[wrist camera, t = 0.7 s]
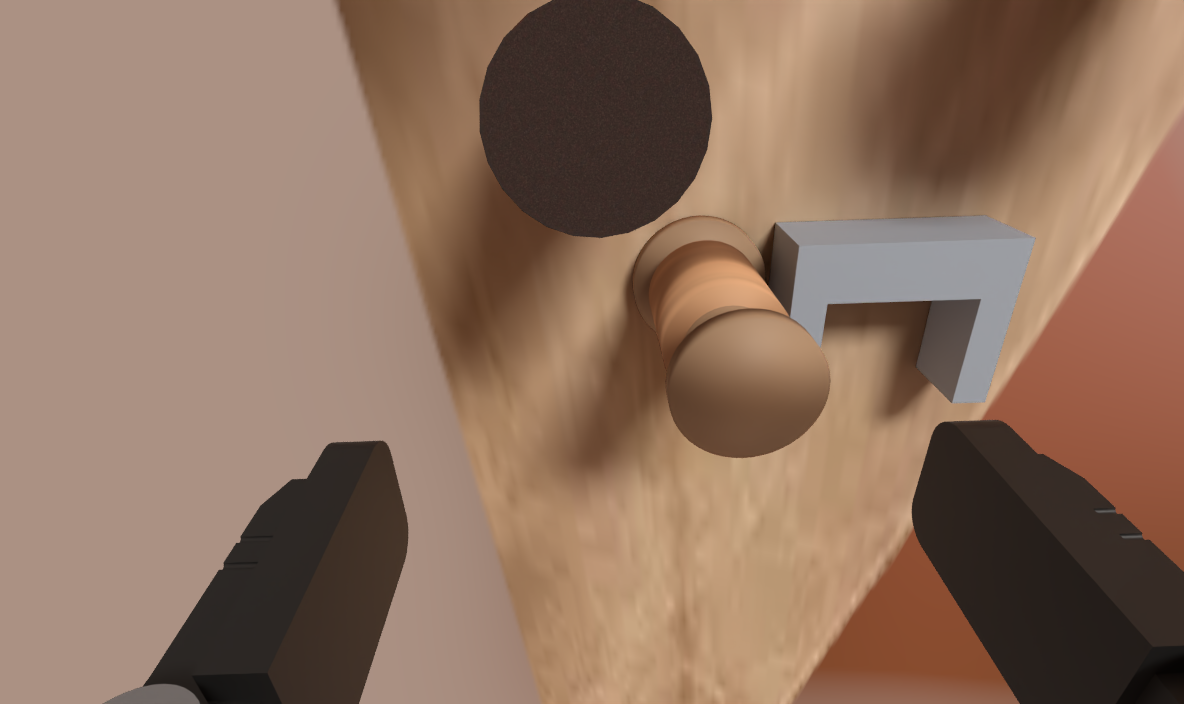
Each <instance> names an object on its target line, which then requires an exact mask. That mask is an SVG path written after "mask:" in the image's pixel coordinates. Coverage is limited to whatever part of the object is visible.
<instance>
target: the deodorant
mask: <svg viewBox="0 0 1184 704" xmlns="http://www.w3.org/2000/svg"><path fill="white" fill-rule="evenodd" d="M711 122H712V111H711V101H710V90H709V84H708V81H707V78H706V76H705V73H704V70H703V67H702V65H701V62H700V59H699V56H698V54H697V53H696V51H695V50H694V48H693V47H692V46H691V44H690V43H689V41H688V40H687V39H686V37H685V36H684V34H683V33H682V32H681V30H680V29H679V27H677V26H676V25H675V24H674V23H672V22H671V21H670V20H669V19H668V18H666V17H665V16H664V15H663V14H661V13H660V12H659V11H658V10H656V9H655V8H654V7H653V6H650V5H648V4H645V3H643V2H641V1H638V0H552V1H550V2H548V3H546V4H545V5H543V6H541V7H539V8H537V9H536V10H534V11H532V12H530V13H528V14H527V15H526V16H525V17H524V18H523V19H522V20H521V21H520V22H519V23H518V24H517V25H516V26H515V27H514V28H513V29H512V30H511V31H510V32H509V33H508V34H507V35H506V36H505V37H504V38H503V40H502V42H501V44H500V46H499V47H498V49H497V51H496V53H495V55H494V56H493V58H492V60H491V62H490V64H489V65H488V68H487V72H486V76H485V80H484V84H483V88H482V92H481V96H480V134H481V138H482V142H483V146H484V150H485V153H486V157H487V161H488V164H489V165H490V167H491V169H492V171H493V173H494V175H495V177H496V178H497V180H498V182H499V184H500V186H501V187H502V189H503V190H504V191H505V192H506V194H507V195H508V196H509V197H510V198H511V199H512V200H513V201H514V202H515V203H516V204H517V206H518V207H519V208H520V209H521V210H522V211H523V212H525V213H526V214H528V215H529V216H531V217H532V218H534V219H535V220H537V221H539V222H540V223H542V224H543V225H545V226H546V227H549V228H552V229H555V230H558V231H561V232H564V233H567V234H570V235H572V236H583V237H598V238H603V237H608V236H613V235H619V234H624V233H629V232H631V231H633V230H635V229H638V228H640V227H642V226H644V225H646V224H648V223H650V222H652V221H655V220H656V219H657V218H658V217H660V216H661V215H662V214H663V213H664V212H666V211H667V210H668V209H669V208H671V207H672V206H673V205H674V204H676V203H677V202H678V200H679V199H680V198H681V196H682V195H683V194H684V192H685V191H686V190H687V188H688V187H689V186H690V184H691V183H692V182H693V180H694V179H695V177H696V175H697V173H698V170H699V168H700V165H701V163H702V161H703V158H704V156H705V154H706V151H707V147H708V141H709V135H710V128H711Z"/></svg>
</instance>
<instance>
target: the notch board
mask: <svg viewBox="0 0 1184 704" xmlns="http://www.w3.org/2000/svg"><path fill="white" fill-rule="evenodd" d="M1035 239H1036V238H1035V237H1032V236H1030V235H1028V234H1026V233H1024V232H1021V231H1019V230H1017V229H1015V228H1012V227H1010V226H1008V225H1006V224H1004V223H1001V222H999V221H997V220H995V219H992V218H990V217H988V216H986V215H984V216H955V217H925V218H896V219H866V220H836V221H807V222H777V223H775V232H774V241H773V251H772V260H771V269H770V278H769V288H770V290H771V291H772V292H773V294H774V295H775V297H776V298H777V299H778V301H779V302H780V303H781V305H782V306H783V307H784V309H785V310H786V312H787V313H788V315H789V317H790V318H792V319H794V320H795V321H797V322H798V323H799V324H800V325H802V326H803V327H804V328H805V329H806V330H807V331H808V333H809V334H810V335H811V336H812V338H813V339H814V340H815V342H816V343H817V344H818V345H819V347H820V348H821V343H822V336H823V330H824V324H825V317H826V311H827V304H845V303H875V302H905V301H932V302H931V307H930V311H929V315H928V319H927V323H926V327H925V331H924V336H923V340H922V344H921V348H920V352H919V356H918V360H917V365H916V368H917V369H918V370H919V371H920V372H921V373H922V374H923V375H924V376H925V377H926V378H927V379H928V380H929V381H930V382H931V383H932V384H933V385H934V386H935V387H936V388H937V389H938V390H939V391H940V392H941V393H942V394H943V395H944V396H945V397H946V398H947V399H948V400H949V401H950V402H951V403H976V402H985V400H986V397H987V394H988V390H989V387H990V384H991V381H992V377H993V374H994V371H995V368H996V364H997V361H998V358H999V355H1000V352H1001V348H1002V345H1003V342H1004V339H1005V335H1006V332H1007V329H1008V326H1009V322H1010V319H1011V316H1012V313H1013V310H1014V306H1015V303H1016V300H1017V297H1018V293H1019V290H1020V287H1021V284H1022V280H1023V277H1024V274H1025V271H1026V268H1027V264H1028V261H1029V258H1030V255H1031V251H1032V248H1033V245H1034V242H1035Z"/></svg>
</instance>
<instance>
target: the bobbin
mask: <svg viewBox="0 0 1184 704" xmlns="http://www.w3.org/2000/svg"><path fill="white" fill-rule="evenodd" d="M765 279H766V274H765V266H764V262H763V259H762V257H761V254H760V252H759V250H758V249H757V247H756V245H755V244H754V243H753V242H752V240H751V239H750V238H749V237H748V236H747V234H746V233H745V232H744V231H742V230H741V229H740V228H739V227H737V226H736V225H734V224H733V223H731V222H729V221H726V220H724V219H721V218H717V217H712V216H692V217H687V218H682V219H680V220H677V221H674V222H672V223H670V224H668V225H666V226H665V227H663V228H662V229H660V230H659V231H658V232H656V233H655V234H654V235H653V236H652V237H651V238H650V239H649V240H648V241H647V243H646V244H645V245H644V247H643V248H642V250H641V252H640V254H639V256H638V257H637V260H636V263H635V266H634V271H633V291H634V296H635V301H636V305H637V307H638V310H639V312H640V314H641V316H642V318H643V319H644V320H645V322H646V323H647V324H648V325H649V326H650V327H651V328H652V329H653V330H654V331H655V332H657V336H658V340H659V344H660V348H661V352H662V357H663V361H664V365H665V368H666V371H667V373H666V393H667V398H668V403H669V407H670V411H671V415H672V417H673V420H674V422H675V424H676V426H677V427H678V429H679V430H680V431H681V433H682V434H683V435H684V436H685V437H686V438H687V439H688V440H689V441H690V442H691V443H693V444H694V445H696V446H697V447H699V448H701V449H703V450H705V451H707V452H710V453H712V454H716V455H720V456H724V457H732V458H746V457H755V456H760V455H764V454H768V453H771V452H774V451H776V450H779V449H781V448H783V447H785V446H787V445H789V444H791V443H792V442H793V441H795V440H796V439H798V438H799V437H800V436H802V435H803V434H804V433H805V432H806V431H807V430H808V429H809V428H810V427H811V426H812V425H813V424H814V422H815V421H816V420H817V418H818V417H819V416H820V414H821V412H822V410H823V408H824V406H825V404H826V401H827V398H828V394H829V390H830V371H829V366H828V362H827V360H826V357H825V355H824V353H823V352H822V350H821V348H820V347H819V345H818V344H817V343H816V342H815V340H814V339H813V338H812V336H811V335H810V334H809V333H808V331H807V330H806V329H805V328H804V327H803V326H802V325H800V324H799V323H798V322H797V321H795V320H794V319H792V318H790V317H789V315H788V313H787V312H786V310H785V309H784V307H783V306H782V305H781V303H780V302H779V301H778V299H777V298H776V297H775V295H774V294H773V292H772V291H771V290H770V288H769V287H768V286H767V284H766V283H765Z"/></svg>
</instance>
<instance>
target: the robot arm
mask: <svg viewBox="0 0 1184 704" xmlns="http://www.w3.org/2000/svg"><path fill="white" fill-rule="evenodd" d="M912 520H913V526H914V529H915V533H916V536H917V538H918V541H919V543H920V545H921V547H922V548H923V550H924V551H925V553H926V555H927V556H928V558H929V559H930V561H931V562H932V564H933V566H934V567H935V569H936V571H937V572H938V574H939V575H940V577H941V578H942V580H943V582H944V583H945V585H946V586H947V588H948V590H949V591H950V593H951V594H952V596H953V598H954V599H955V601H956V602H957V604H958V606H959V607H960V609H961V610H962V612H963V614H964V615H965V617H966V618H967V620H968V622H969V623H970V625H971V626H972V628H973V630H974V631H975V633H976V634H977V636H978V637H979V639H980V641H981V642H982V644H983V646H984V647H985V649H986V650H987V652H988V653H989V655H990V657H991V658H992V660H993V662H994V663H995V665H996V666H997V668H998V670H999V671H1000V673H1001V674H1002V676H1003V678H1004V679H1005V681H1006V682H1007V684H1008V685H1009V687H1010V689H1011V690H1012V692H1013V694H1014V695H1015V697H1016V698H1017V700H1018V701H1019V703H1020V704H1184V572H1183V571H1182V570H1181V569H1180V568H1179V567H1178V566H1177V565H1176V564H1175V563H1174V562H1173V561H1171V560H1170V559H1169V558H1168V557H1167V556H1166V555H1165V554H1164V553H1163V552H1162V551H1161V550H1160V549H1159V548H1158V547H1157V546H1155V545H1154V544H1153V543H1152V542H1151V541H1150V540H1144V539H1143V537H1142V532H1141V531H1139V530H1138V529H1137V528H1136V527H1135V526H1134V525H1133V524H1132V523H1131V522H1130V521H1129V520H1128V519H1127V518H1126V517H1125V516H1124V515H1123V514H1117V513H1116V511H1115V507H1114V506H1113V505H1112V504H1111V503H1110V502H1109V501H1108V500H1107V499H1106V498H1105V497H1103V496H1102V495H1101V494H1100V493H1099V492H1098V491H1097V490H1096V489H1095V488H1094V487H1093V486H1092V485H1091V484H1090V483H1088V482H1087V481H1086V480H1085V479H1084V478H1083V477H1081V476H1079V475H1078V474H1076V473H1074V472H1073V471H1071V470H1069V469H1068V468H1066V467H1064V466H1062V465H1061V464H1059V463H1057V462H1056V461H1054V460H1052V459H1050V458H1049V457H1047V456H1045V455H1044V454H1037V453H1036V452H1035V451H1034V450H1033V449H1032V448H1031V447H1030V446H1029V445H1028V444H1027V443H1026V442H1025V441H1024V440H1023V439H1022V438H1021V437H1020V436H1019V435H1018V434H1017V433H1016V432H1015V431H1014V430H1013V429H1012V428H1011V427H1010V426H1008V425H1007V424H1006V423H1004V422H1002V421H999V420H980V421H953V422H942V423H940V424H939V425H938V426H937V427H936V428H935V430H934V431H933V434H932V437H931V440H930V444H929V447H928V450H927V454H926V457H925V461H924V464H923V468H922V471H921V474H920V478H919V481H918V485H917V488H916V491H915V495H914V498H913V503H912ZM407 546H408V523H407V516H406V512H405V508H404V504H403V500H402V496H401V492H400V488H399V484H398V480H397V476H396V472H395V468H394V464H393V460H392V456H391V452H390V450H389V447H388V445H387V444H386V443H385V442H384V441H365V442H336V443H330V444H328V445H327V446H326V448H325V449H324V451H323V452H322V454H321V456H320V457H319V459H318V461H317V462H316V464H315V466H314V468H313V469H312V471H311V473H310V474H309V476H308V478H307V479H292V480H291V481H289V482H288V483H287V484H286V485H285V486H284V487H282V488H281V489H280V490H279V491H278V492H276V493H275V494H274V495H273V496H272V497H270V498H269V499H268V500H267V501H266V502H264V503H263V504H262V505H261V506H260V507H259V509H258V510H257V512H256V514H255V515H254V517H253V518H252V520H251V521H250V523H249V524H248V526H247V527H246V529H245V531H244V532H243V534H242V535H241V541H240V543H236V545H235V546H234V548H233V549H232V551H231V552H230V554H229V555H228V557H227V558H226V560H225V561H224V568H223V570H219V571H218V572H217V574H216V575H215V577H214V579H213V580H212V582H211V583H210V585H209V586H208V588H207V589H206V591H205V592H204V594H203V595H202V597H201V599H200V600H199V602H198V603H197V605H196V606H195V608H194V609H193V611H192V613H191V614H190V616H189V617H188V619H187V620H186V622H185V623H184V625H183V626H182V628H181V629H180V631H179V633H178V634H177V636H176V637H175V639H174V640H173V642H172V643H171V645H170V646H169V648H168V650H167V651H166V653H165V654H164V656H163V657H162V659H161V660H160V662H159V664H158V665H157V667H156V668H155V670H154V671H153V673H152V674H151V676H150V677H149V679H148V680H147V681H146V683H145V684H144V686H143V687H140V688H137V689H134V690H131V691H128V692H126V693H123V694H121V695H119V696H117V697H114V698H112V699H110V700H109V701H107V702H105V703H103V704H359V701H360V698H361V695H362V692H363V689H364V686H365V683H366V680H367V676H368V673H369V670H370V667H371V664H372V661H373V658H374V655H375V652H376V649H377V646H378V642H379V639H380V636H381V633H382V630H383V627H384V624H385V621H386V618H387V614H388V611H389V608H390V605H391V602H392V599H393V596H394V593H395V590H396V587H397V583H398V580H399V577H400V574H401V571H402V568H403V564H404V562H405V558H406V553H407Z"/></svg>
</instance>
